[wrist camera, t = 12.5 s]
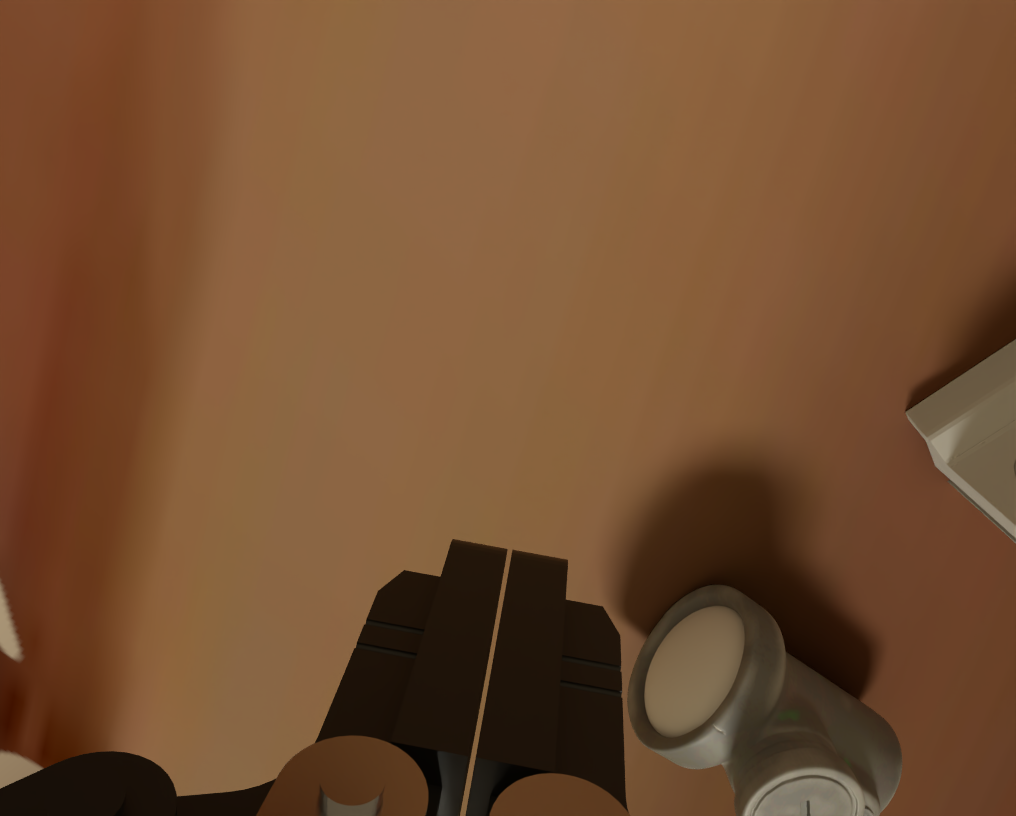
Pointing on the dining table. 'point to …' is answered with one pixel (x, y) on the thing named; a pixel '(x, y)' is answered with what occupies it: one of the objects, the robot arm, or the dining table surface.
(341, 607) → the dining table surface
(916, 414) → the hinge
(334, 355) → the dining table surface
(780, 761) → the pipe fitting
